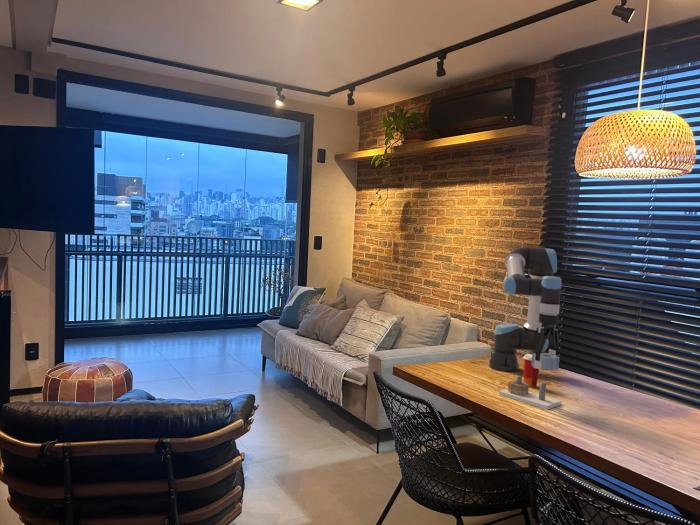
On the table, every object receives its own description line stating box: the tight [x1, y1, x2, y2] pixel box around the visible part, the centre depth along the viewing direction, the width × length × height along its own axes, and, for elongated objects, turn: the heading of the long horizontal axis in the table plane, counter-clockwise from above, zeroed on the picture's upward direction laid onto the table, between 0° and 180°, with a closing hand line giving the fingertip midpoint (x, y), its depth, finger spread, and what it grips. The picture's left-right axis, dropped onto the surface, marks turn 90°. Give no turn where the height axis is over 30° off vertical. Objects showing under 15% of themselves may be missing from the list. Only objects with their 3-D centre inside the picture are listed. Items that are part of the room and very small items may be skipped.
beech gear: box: [507, 380, 530, 395], centre depth 221 cm, size 8×8×4 cm
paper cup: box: [522, 353, 540, 388], centre depth 238 cm, size 8×8×14 cm
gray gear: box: [531, 352, 560, 372], centre depth 212 cm, size 10×10×5 cm
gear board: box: [498, 375, 562, 411], centre depth 217 cm, size 12×22×8 cm, turn 41°
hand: (544, 366), depth 212 cm, fingers closed on gray gear, 10 cm apart
